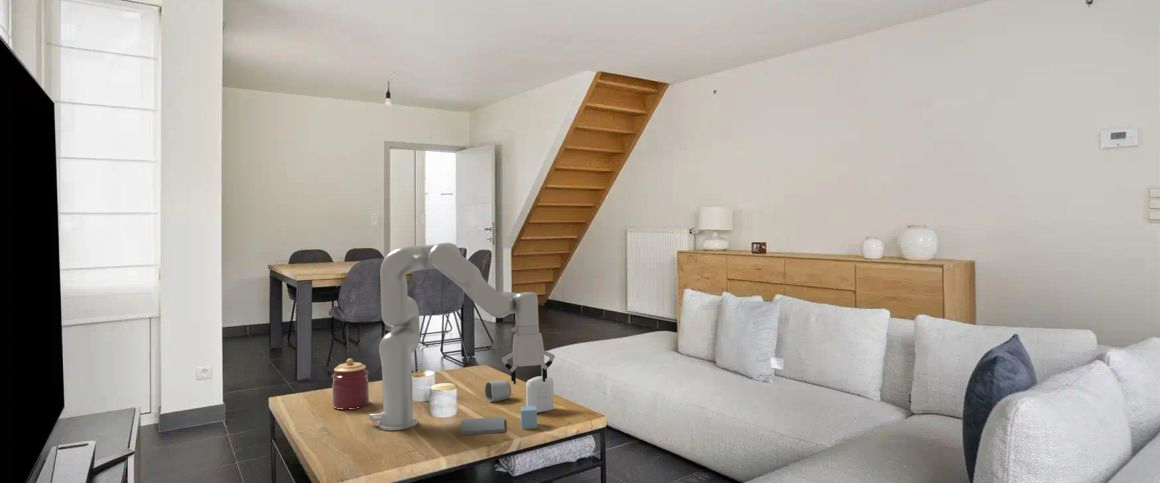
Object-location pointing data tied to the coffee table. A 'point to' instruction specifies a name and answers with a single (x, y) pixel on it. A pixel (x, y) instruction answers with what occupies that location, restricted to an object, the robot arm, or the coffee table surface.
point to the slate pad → (482, 425)
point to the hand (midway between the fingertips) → (529, 382)
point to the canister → (350, 385)
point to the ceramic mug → (497, 390)
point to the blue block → (528, 417)
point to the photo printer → (540, 393)
